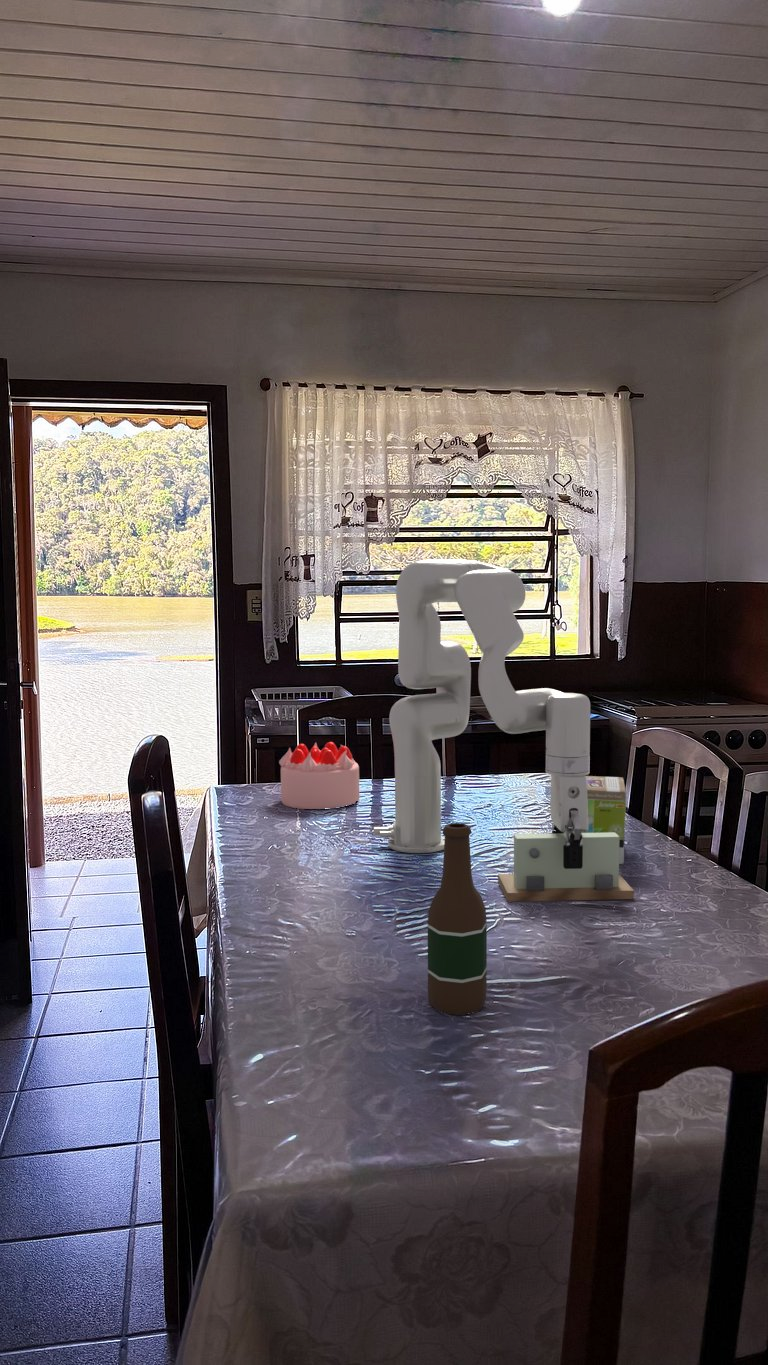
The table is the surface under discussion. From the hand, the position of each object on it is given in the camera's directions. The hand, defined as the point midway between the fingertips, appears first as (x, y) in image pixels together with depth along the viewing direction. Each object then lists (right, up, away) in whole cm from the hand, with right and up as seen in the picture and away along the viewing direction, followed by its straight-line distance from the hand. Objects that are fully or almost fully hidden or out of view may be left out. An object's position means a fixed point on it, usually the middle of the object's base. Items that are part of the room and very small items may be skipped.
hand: (566, 860), depth 174 cm
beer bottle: (-23, -11, -44) cm, 51 cm away
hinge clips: (0, -5, 0) cm, 5 cm away
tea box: (+11, -4, +26) cm, 28 cm away
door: (0, -5, +1) cm, 5 cm away
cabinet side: (0, -6, +3) cm, 6 cm away
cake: (-48, +1, +75) cm, 89 cm away
